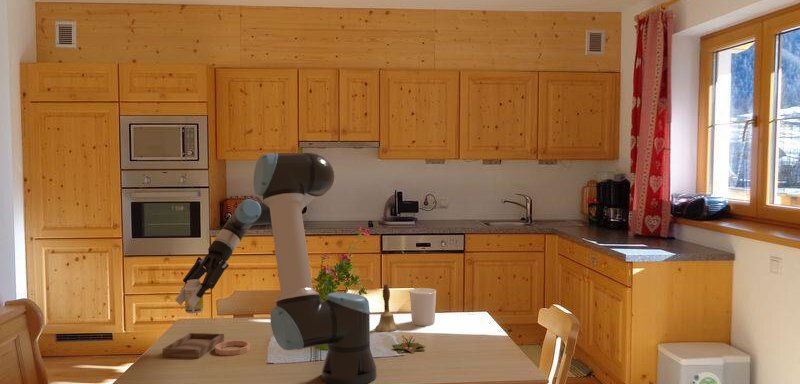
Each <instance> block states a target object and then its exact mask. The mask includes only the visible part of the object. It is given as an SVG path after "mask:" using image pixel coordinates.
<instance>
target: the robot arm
mask: <svg viewBox="0 0 800 384" xmlns="http://www.w3.org/2000/svg"><path fill="white" fill-rule="evenodd" d="M252 181H253V190H254V193H255V195H257V196H258V197H262V202H258V201H256V200H255V199H252V198H247V199H245V200H242V201H241V202H240V203H239V204H238V205H237V206H236V209H234V210H233V212H232V213H231V214H230V217H229V218H228V219H227V221H226V223H224V225H223V227H222V228H221V230H220V231H219V232H218V234H217V235H216V237H215V238H214V240H213V241H212V242H211V244H210V246H209V247H208V249H207V251H208V253H207V254H206V255H205V256H204V257H202V258H201V257H200V256H199V257H197V259H196V261H195V263H194V264H193V265H192V267H191V268H190V269H189V271H188V273H187V274H186V275H185V276H184V278H183V279H182V282H183V283H184V285H183V287H182V288H181V290H180V291H179V294H177V296H176V297H175V298H174V301H175V302H176V303H177V304H178V305H180V306H182V305H183V304H184V303H185V287H186V286H187V281H188V280H192V279H198V280H200V279H201V278H202V277H203V276H204V275H205V276H204V278H203V280H202V282H200V285H201V286H202V287H201V286H198V287H197V289H196V290H195V292H194V293H193V295H192V296H191V298H190V299H189V301H188V302H187V303H188V304H189V305H190V306H192V307H193V308H194V307H195V305H196V304H197V302H198V301H199V299H200V298H201V297H202V296H203V297H204V294H205V293H206V292H207V291H209V289H211V290H213V289H214V288H215V286H216V285H217V283H218V282H219V280H220V278H221V277H222V275H223V273H224V272H225V270H226V269H227V268H229V266H230V265H229V263H228V262H227V261H228V260H229V259H230V258H231V256H232V255H233V252H234V251H235V250H236V248H237V247H238V245H239V244H240V242H241V241H242V239H243V238H244V236H245V235H246V234H247V232H248V230H250V228H251V227H252V226H261V225H262V226H263V225H271V228H272V236H273V237H272V238H273V244H274V250H275V259H276V267H277V274H278V275H277V276H278V282H279V290H280V294H279V296H278V297H277V298H276V300H275V305H276V306H274V307H273V308H272V309H271V310H270V318H269V319H270V327H271V331H272V334H273V337H274V338H275V341H276V343H277V344H278V346H279V347H280V348H281V349H283V350H285V351H294V350H295V351H296V350H303V349H309V348H314V347H320V346H324V345H327V352H326V356H325V359H324V362H323V366H322V370H321V375H322V376H321V378H322V381H323V382H324V383H326V384H369V383H371V382H373V381H374V380H376V378H377V375H378V374H377V373H378V371H377V366H376V363H375V360H374V357H373V354H372V351H371V345H370V343H371V340H370V339H371V338H370V337H371V334H370V332H371V329H370V328H371V327H370V325H371V324H370V315H371V312H370V304H369V300H368V298H367V297H366V296H363V295H361V294H356V293H350V292H331V293H327V295H326V298H325V299H326V300H321V297H320V293H319V292H317V291H316V290H315V289H314V288H313V281H312V274H311V268H310V267H311V265H310V260H309V255H308V254H309V253H308V247H307V240H306V239H307V238H306V233H305V225H304V218H303V211H302V210H303V209H304V208H305V207H307V206H308V205H309V204H310V203H312V201H313V200H314V199H315V198H317V197H322V196H324V195H325V194H326V193H328V191H330V190H331V188H332V186H333V185H334V182H335V171H334V168H333V166H332V165H331V163H330V161H328V160H327V159H326V157H324V156H322V155H319V154H318V153H313V152H273V153H271V152H270V153H263V154H261V155H260V156H259V157H258V159H257V161H256V163H255V168H254V172H253V180H252Z"/></svg>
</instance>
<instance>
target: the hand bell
mask: <svg viewBox="0 0 800 384" xmlns="http://www.w3.org/2000/svg"><path fill="white" fill-rule="evenodd" d="M390 296H391V292H390V288H389V284H383V288H382V299H383V302H384V306H383V307H384V308H383V309H384V311H383V312H382V313H380V318H379V322H378V324H377V325H376V326H375V330H376V331H377V332H382V333H383V332H384V333H390V332H396V331H398V330H399V329H400V328H399V326H398V325H397V324H396V322H395V317H394V314H393V312H391V311H390V305H389V303H390V298H391V297H390Z"/></svg>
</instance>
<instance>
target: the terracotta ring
mask: <svg viewBox="0 0 800 384" xmlns="http://www.w3.org/2000/svg"><path fill="white" fill-rule="evenodd" d="M234 346H236V347H238V346H239V348H234V349H233V348H232V349H231V348H230V349H228V348H229V347H234ZM226 347H228V348H227V349H224V348H226ZM249 351H251V343H250V341H247V340H242V339H240V340H239V339H238V340H237V339H234V340H224V342H221V343H218V344H217V345H215V348H214V353H215V354H216V355H219V356H235V355H237V356H238V355H242V354H244V353H248V352H249Z"/></svg>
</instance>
